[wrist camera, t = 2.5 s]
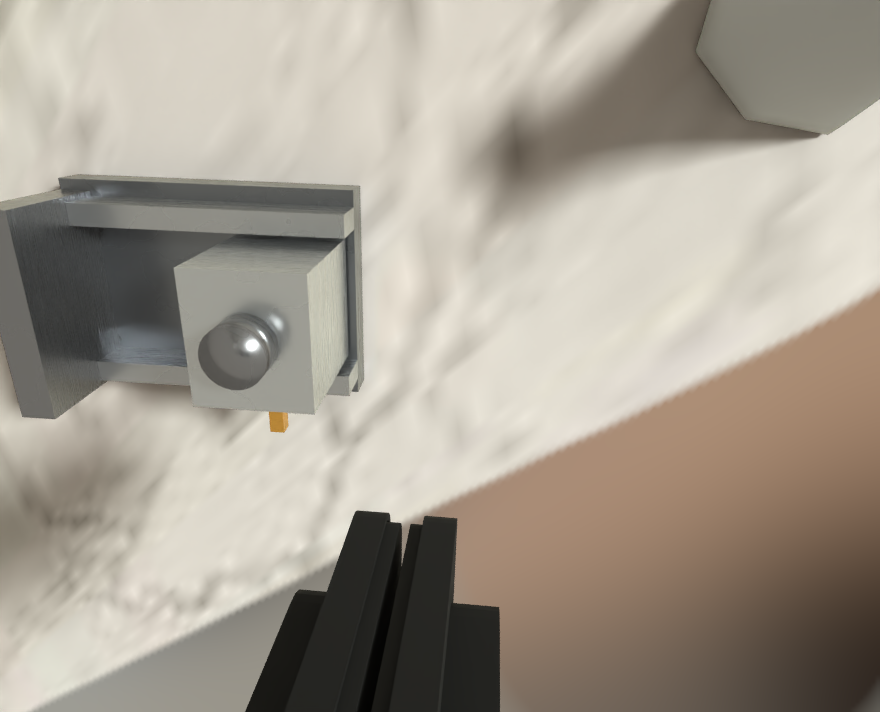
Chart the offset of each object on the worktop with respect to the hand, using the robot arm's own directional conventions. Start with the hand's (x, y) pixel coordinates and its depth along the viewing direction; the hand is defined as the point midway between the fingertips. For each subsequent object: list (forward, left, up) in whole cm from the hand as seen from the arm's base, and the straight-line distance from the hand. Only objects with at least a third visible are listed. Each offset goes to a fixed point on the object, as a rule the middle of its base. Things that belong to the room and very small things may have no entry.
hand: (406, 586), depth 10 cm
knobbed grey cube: (+1, -6, -14) cm, 15 cm away
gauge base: (0, -9, -16) cm, 18 cm away
